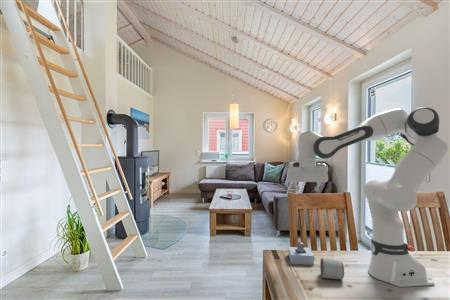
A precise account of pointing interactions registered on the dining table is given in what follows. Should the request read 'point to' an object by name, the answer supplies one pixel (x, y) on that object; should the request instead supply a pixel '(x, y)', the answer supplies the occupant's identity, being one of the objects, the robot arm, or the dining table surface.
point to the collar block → (301, 256)
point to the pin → (300, 247)
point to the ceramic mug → (331, 269)
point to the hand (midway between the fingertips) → (306, 190)
